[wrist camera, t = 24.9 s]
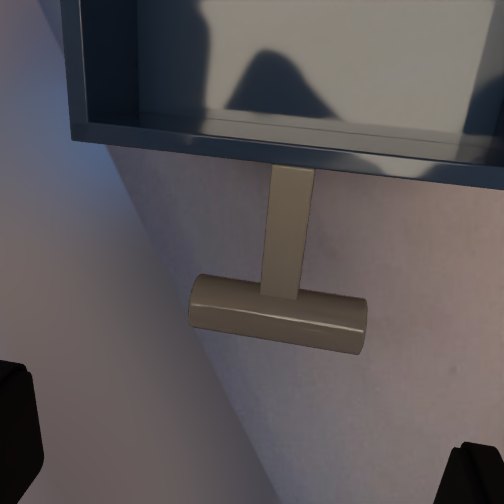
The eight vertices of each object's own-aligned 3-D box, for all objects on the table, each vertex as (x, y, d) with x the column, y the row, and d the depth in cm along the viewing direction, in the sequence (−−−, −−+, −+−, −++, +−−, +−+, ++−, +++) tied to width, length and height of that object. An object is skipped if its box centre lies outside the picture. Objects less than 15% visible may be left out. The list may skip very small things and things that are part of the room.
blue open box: (136, 261, 19) (76, 318, 15) (120, -383, 12) (-11, -653, 7) (452, 308, 18) (491, 389, 13) (663, -412, 10) (919, -787, 6)
